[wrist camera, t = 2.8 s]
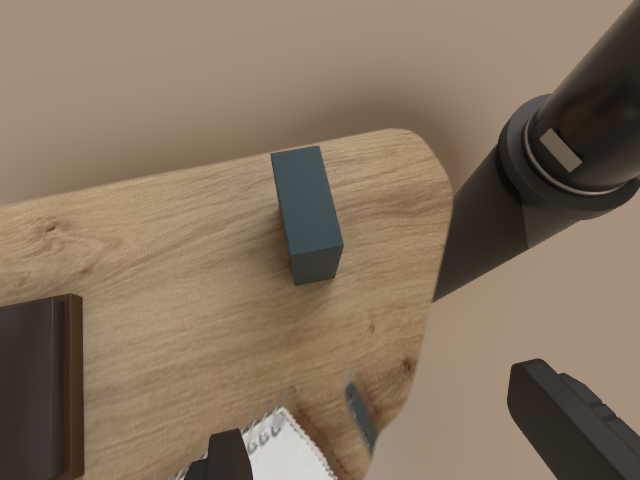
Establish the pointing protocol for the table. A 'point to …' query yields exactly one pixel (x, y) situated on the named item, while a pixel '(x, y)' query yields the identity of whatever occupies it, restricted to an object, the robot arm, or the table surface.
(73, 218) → the table surface
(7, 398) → the brown wooden stand
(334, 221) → the back pad
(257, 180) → the table surface
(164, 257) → the table surface
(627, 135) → the robot arm
